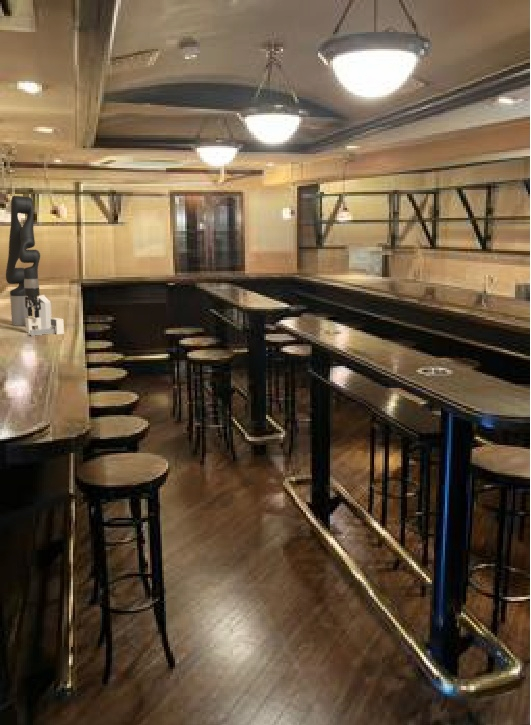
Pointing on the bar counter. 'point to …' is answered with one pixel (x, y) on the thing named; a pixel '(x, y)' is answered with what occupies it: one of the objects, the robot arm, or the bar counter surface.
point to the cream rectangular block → (32, 323)
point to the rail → (42, 331)
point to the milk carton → (45, 312)
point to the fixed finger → (57, 325)
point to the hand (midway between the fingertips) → (33, 316)
